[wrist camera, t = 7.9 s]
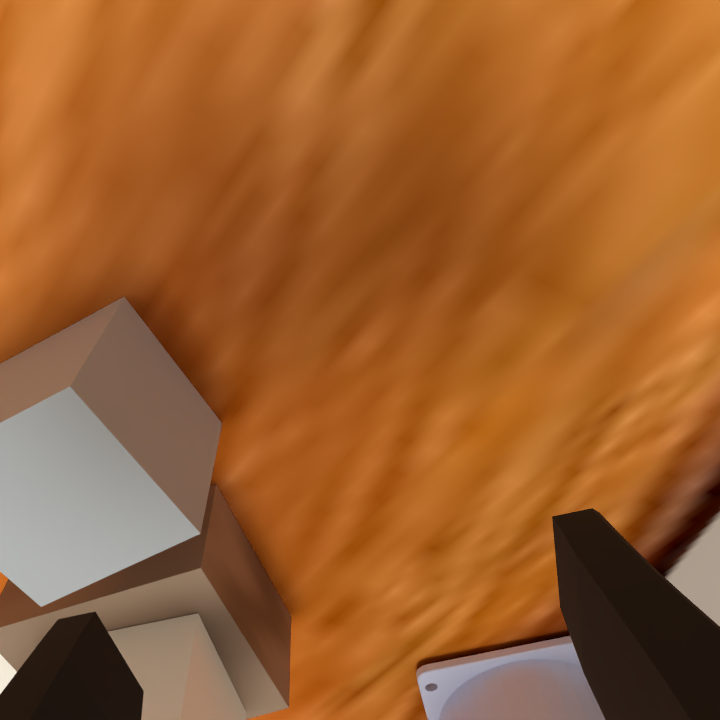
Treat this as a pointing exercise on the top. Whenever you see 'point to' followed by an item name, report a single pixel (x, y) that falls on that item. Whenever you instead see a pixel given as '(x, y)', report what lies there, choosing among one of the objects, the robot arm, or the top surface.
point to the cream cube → (178, 671)
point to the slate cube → (98, 454)
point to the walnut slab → (182, 607)
